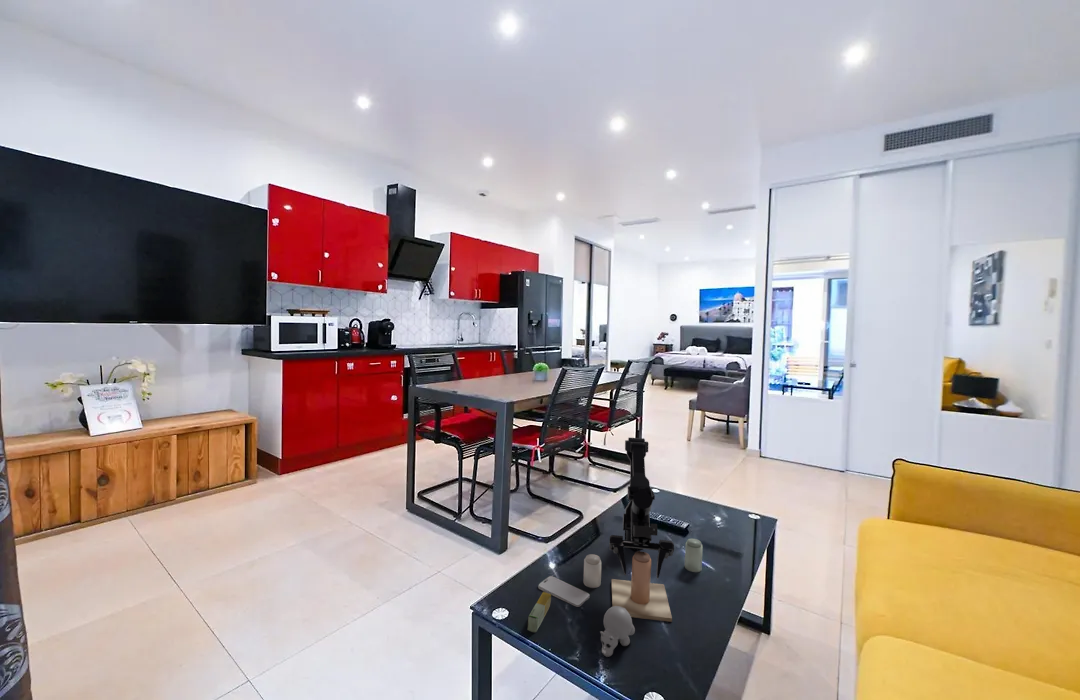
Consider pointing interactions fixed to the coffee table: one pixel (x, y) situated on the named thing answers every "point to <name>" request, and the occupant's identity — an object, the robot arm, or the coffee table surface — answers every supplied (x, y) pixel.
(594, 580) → the cream jar
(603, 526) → the coffee table surface
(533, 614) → the medication box
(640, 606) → the beige cloth
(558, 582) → the smartphone
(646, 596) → the terracotta jar
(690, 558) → the sage jar
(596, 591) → the coffee table surface
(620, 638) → the chubby cartoon animal
